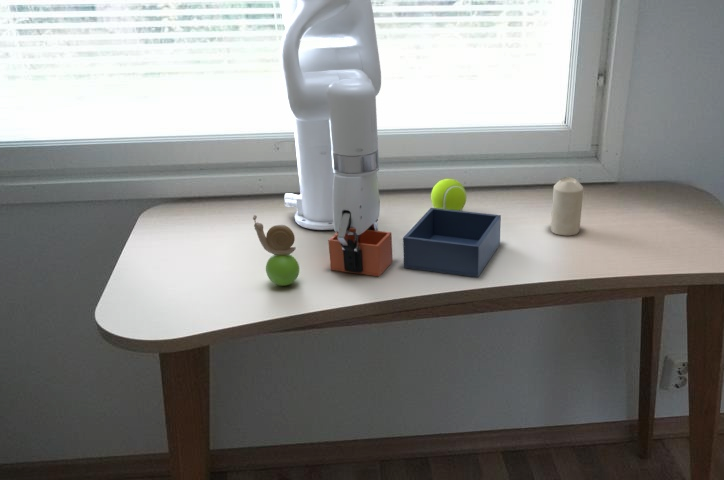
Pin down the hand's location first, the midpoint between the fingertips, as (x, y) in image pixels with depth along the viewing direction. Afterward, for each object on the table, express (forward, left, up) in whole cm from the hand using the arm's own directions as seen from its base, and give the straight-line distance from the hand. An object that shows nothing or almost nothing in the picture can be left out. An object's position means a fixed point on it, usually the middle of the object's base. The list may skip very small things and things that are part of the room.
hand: (361, 262), depth 145 cm
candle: (+31, +27, -1) cm, 41 cm away
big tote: (+14, +9, -1) cm, 17 cm away
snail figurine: (-10, -11, -1) cm, 15 cm away
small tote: (0, 0, -1) cm, 1 cm away
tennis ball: (+7, +29, -1) cm, 30 cm away
